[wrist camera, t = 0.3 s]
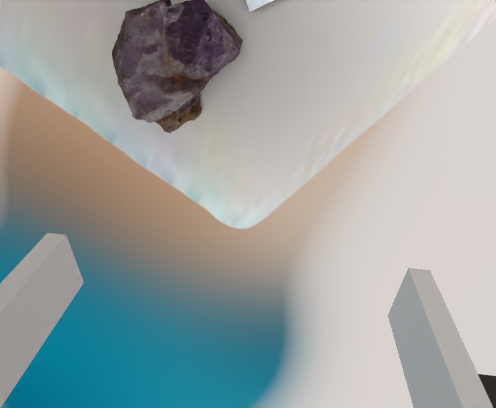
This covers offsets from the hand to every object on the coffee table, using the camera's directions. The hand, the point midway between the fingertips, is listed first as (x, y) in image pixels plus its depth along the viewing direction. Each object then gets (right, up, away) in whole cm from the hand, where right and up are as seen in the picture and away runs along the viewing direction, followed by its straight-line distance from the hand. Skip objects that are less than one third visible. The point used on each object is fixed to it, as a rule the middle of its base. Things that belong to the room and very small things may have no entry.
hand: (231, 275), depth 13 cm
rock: (-6, +18, +20) cm, 28 cm away
